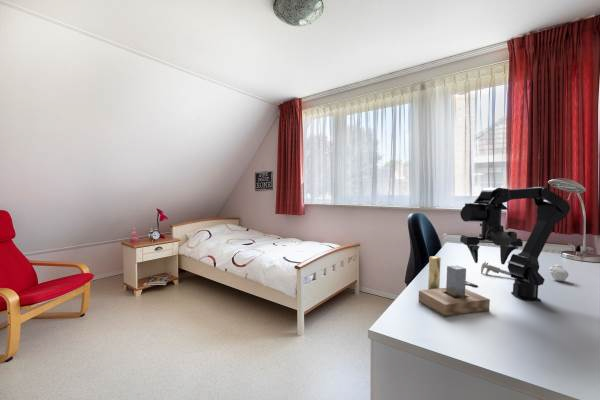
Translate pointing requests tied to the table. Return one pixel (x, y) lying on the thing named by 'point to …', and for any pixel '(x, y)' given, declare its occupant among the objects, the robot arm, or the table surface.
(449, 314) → the bore block
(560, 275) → the crumpled paper ball
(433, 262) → the brass pin
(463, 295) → the grey rectangular block
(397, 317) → the table surface
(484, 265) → the caliper
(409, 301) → the table surface
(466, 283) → the usb flash drive
